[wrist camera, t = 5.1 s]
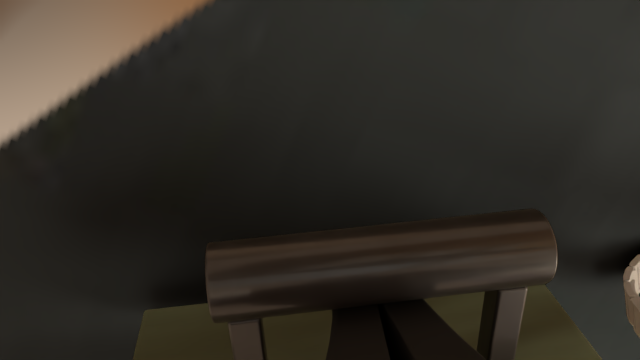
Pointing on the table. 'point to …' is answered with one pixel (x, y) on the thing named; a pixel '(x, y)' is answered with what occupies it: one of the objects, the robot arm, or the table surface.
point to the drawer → (375, 290)
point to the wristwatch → (633, 293)
